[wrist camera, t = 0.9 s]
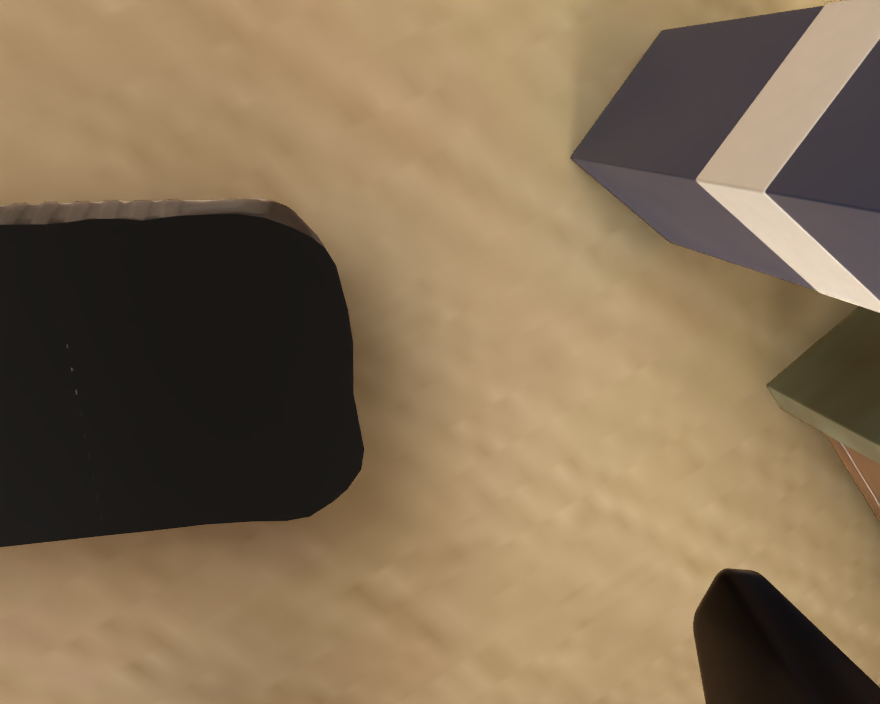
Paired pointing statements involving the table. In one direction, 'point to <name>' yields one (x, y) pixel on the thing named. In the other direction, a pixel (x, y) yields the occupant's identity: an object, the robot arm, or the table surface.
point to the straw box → (757, 144)
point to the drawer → (841, 395)
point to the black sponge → (169, 368)
